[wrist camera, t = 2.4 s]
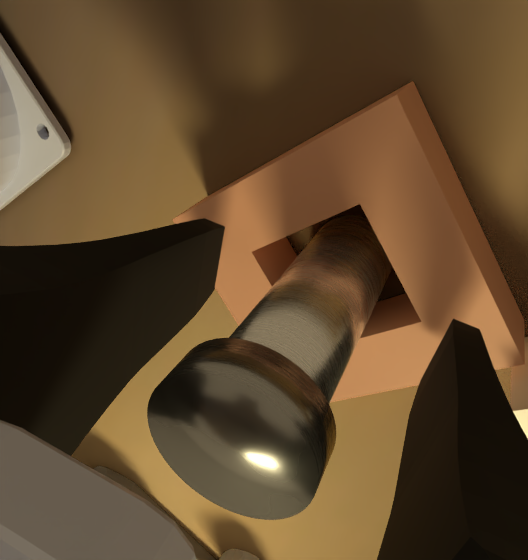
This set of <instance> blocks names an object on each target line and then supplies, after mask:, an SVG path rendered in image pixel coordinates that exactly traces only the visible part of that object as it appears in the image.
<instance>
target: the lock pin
mask: <svg viewBox="0 0 528 560" xmlns="http://www.w3.org/2000/svg"><path fill="white" fill-rule="evenodd" d="M392 268H393V266H392V264H391V262H390V261H389V259H388V257H387V255H386V253H385V251H384V249H383V247H382V245H381V243H380V241H379V239H378V238H377V236H376V234H375V232H374V230H373V228H372V226H371V224H370V222H369V220H368V219H367V218H365V217H361V216H356V215H343V216H339V217H336V218H334V219H332V220H330V221H328V222H327V223H326V224H325V225H324V226H323V227H322V228H321V229H320V230H319V231H318V233H317V234H316V235H315V236H314V237H313V238H312V240H311V241H310V242H309V243H308V244H307V246H306V247H305V248H304V249H303V250H302V252H301V253H300V254H299V255H298V256H297V257H296V259H295V260H294V261H293V262H292V263H291V265H290V266H289V267H288V268H287V269H286V271H285V272H284V273H283V274H282V275H281V277H280V278H279V279H278V280H277V281H276V282H275V284H274V285H273V286H272V287H271V288H270V290H269V291H268V292H267V293H266V294H265V296H264V297H263V298H262V299H261V300H260V301H259V303H258V304H257V305H256V306H255V307H254V309H253V310H252V311H251V312H250V313H249V315H248V316H247V317H246V318H245V319H244V321H243V322H242V323H241V324H240V325H239V326H238V328H237V329H236V330H235V331H234V332H233V334H232V335H231V336H230V337H229V338H219V339H213V340H209V341H206V342H203V343H201V344H199V345H197V346H196V347H194V348H193V349H192V350H191V351H190V352H189V353H188V354H187V355H186V356H185V357H184V358H183V359H182V360H181V361H180V362H179V363H178V364H177V365H176V367H175V368H174V369H173V370H172V371H171V372H170V373H169V374H168V375H167V376H166V377H165V378H164V380H163V381H162V382H161V383H160V384H159V385H158V386H157V387H156V388H155V390H154V391H153V393H152V395H151V397H150V400H149V403H148V412H147V417H148V424H149V428H150V432H151V435H152V437H153V440H154V442H155V444H156V446H157V448H158V450H159V452H160V453H161V455H162V456H163V458H164V459H165V461H166V462H167V463H168V465H169V466H170V467H171V468H172V469H173V471H174V472H175V473H176V474H177V475H178V476H179V477H180V478H181V479H182V480H183V481H184V482H185V483H186V484H188V485H189V486H190V487H191V488H192V489H194V490H195V491H196V492H198V493H199V494H200V495H202V496H203V497H205V498H206V499H208V500H210V501H211V502H213V503H215V504H217V505H219V506H221V507H223V508H225V509H227V510H229V511H232V512H234V513H237V514H240V515H243V516H247V517H251V518H257V519H265V520H276V519H284V518H288V517H291V516H294V515H296V514H298V513H300V512H301V511H303V510H304V509H305V508H306V507H307V506H308V505H309V504H310V503H311V501H312V499H313V497H314V496H315V493H316V491H317V488H318V486H319V483H320V481H321V478H322V476H323V474H324V471H325V469H326V466H327V464H328V461H329V459H330V457H331V454H332V452H333V449H334V446H335V441H336V425H335V420H334V416H333V413H332V411H331V408H330V406H329V403H330V401H331V399H332V397H333V395H334V392H335V390H336V388H337V386H338V384H339V382H340V380H341V377H342V375H343V373H344V371H345V369H346V367H347V365H348V362H349V360H350V358H351V356H352V354H353V352H354V350H355V347H356V345H357V343H358V341H359V339H360V337H361V335H362V332H363V330H364V328H365V326H366V324H367V322H368V320H369V317H370V315H371V313H372V311H373V309H374V307H375V304H376V302H377V300H378V298H379V296H380V294H381V292H382V289H383V287H384V285H385V283H386V281H387V279H388V277H389V274H390V272H391V270H392Z"/></svg>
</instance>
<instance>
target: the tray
mask: <svg viewBox="0 0 528 560" xmlns="http://www.w3.org/2000/svg"><path fill="white" fill-rule="evenodd" d="M510 406H511V408H512V410H513V412H514V414H515V416H516V418H517V420H518V422H519V424H520V426H521V428H522V429H523V431H524V433H525V435H526V436H527V438H528V337H525V364H524V365H519V366H514V367H511V401H510Z"/></svg>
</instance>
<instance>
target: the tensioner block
mask: <svg viewBox="0 0 528 560" xmlns="http://www.w3.org/2000/svg"><path fill="white" fill-rule="evenodd" d="M359 204H360V205H361V207H362V209H363V211H364V213H365V215H366V216H367V218H368V220H369V222H370V224H371V226H372V228H373V230H374V232H375V234H376V236H377V238H378V239H379V241H380V243H381V245H382V247H383V249H384V251H385V253H386V255H387V257H388V259H389V261H390V262H391V264H392V266H393V268H394V270H395V272H396V274H397V276H398V278H399V280H400V282H401V283H402V285H403V287H404V289H405V291H406V293H405V294H402V295H398V296H395V297H392V298H389V299H385V300H382V301H379V302H376V304H375V307H374V309H373V311H372V313H371V315H370V317H369V320H368V322H367V324H366V326H365V328H364V330H363V332H362V335H361V337H360V339H359V341H358V343H357V345H356V347H355V350H354V352H353V354H352V356H351V358H350V360H349V362H348V365H347V367H346V369H345V371H344V373H343V375H342V377H341V380H340V382H339V384H338V386H337V388H336V390H335V392H334V395H333V397H332V399H331V401H330V402H334V401H339V400H344V399H350V398H355V397H360V396H365V395H370V394H375V393H380V392H385V391H391V390H396V389H401V388H406V387H411V386H416V385H419V383H420V380H421V379H422V377H423V375H424V373H425V371H426V369H427V367H428V365H429V363H430V361H431V360H432V358H433V356H434V354H435V352H436V350H437V348H438V346H439V344H440V342H441V341H442V339H443V337H444V335H445V333H446V331H447V329H448V327H449V325H450V323H451V321H452V320H453V319H456V320H458V321H461V322H463V323H466V324H468V325H471V326H473V327H476V328H478V329H480V331H481V334H482V336H483V339H484V342H485V345H486V347H487V350H488V353H489V356H490V359H491V361H492V364H493V367H494V369H495V370H498V369H503V368H508V367H514V366H519V365H524V364H525V321H524V318H523V316H522V314H521V312H520V310H519V308H518V306H517V303H516V301H515V299H514V297H513V295H512V293H511V291H510V288H509V286H508V284H507V282H506V280H505V278H504V275H503V273H502V271H501V269H500V267H499V265H498V263H497V260H496V258H495V256H494V254H493V252H492V250H491V247H490V245H489V243H488V241H487V239H486V237H485V235H484V232H483V230H482V228H481V226H480V224H479V222H478V219H477V217H476V215H475V213H474V211H473V209H472V207H471V204H470V202H469V200H468V198H467V196H466V194H465V192H464V189H463V187H462V185H461V183H460V181H459V179H458V176H457V174H456V172H455V170H454V168H453V166H452V164H451V161H450V159H449V157H448V155H447V153H446V151H445V148H444V146H443V144H442V142H441V140H440V138H439V136H438V133H437V131H436V129H435V127H434V125H433V123H432V120H431V118H430V116H429V114H428V112H427V110H426V108H425V105H424V103H423V101H422V99H421V97H420V95H419V93H418V90H417V88H416V86H415V84H414V82H413V81H412V82H410V83H408V84H406V85H404V86H403V87H401V88H399V89H397V90H396V91H394V92H392V93H390V94H388V95H387V96H385V97H383V98H381V99H380V100H378V101H376V102H374V103H373V104H371V105H369V106H367V107H365V108H364V109H362V110H360V111H358V112H357V113H355V114H353V115H351V116H349V117H348V118H346V119H344V120H342V121H341V122H339V123H337V124H335V125H333V126H332V127H330V128H328V129H326V130H325V131H323V132H321V133H319V134H317V135H316V136H314V137H312V138H310V139H309V140H307V141H305V142H303V143H301V144H300V145H298V146H296V147H294V148H293V149H291V150H289V151H287V152H285V153H284V154H282V155H280V156H278V157H277V158H275V159H273V160H271V161H269V162H268V163H266V164H264V165H262V166H261V167H259V168H257V169H255V170H253V171H252V172H250V173H248V174H246V175H245V176H243V177H241V178H239V179H237V180H236V181H234V182H232V183H230V184H229V185H227V186H225V187H223V188H221V189H220V190H218V191H216V192H214V193H213V194H211V195H209V196H207V197H206V198H204V199H203V200H201V201H200V202H198V203H197V204H195V205H194V206H192V207H191V208H189V209H187V210H186V211H184V212H183V213H181V214H180V215H178V216H177V217H175V218H174V219H172V220H173V221H174V223H175V224H178V223H182V222H186V221H191V220H196V219H203V218H205V219H208V220H210V221H213V222H215V223H218V224H220V225H223V226H225V230H224V236H223V242H222V248H221V254H220V260H219V266H218V272H217V277H216V283H215V288H216V290H217V292H218V293H219V295H220V297H221V298H222V300H223V301H224V303H225V305H226V306H227V308H228V309H229V311H230V313H231V314H232V316H233V317H234V319H235V321H236V322H237V324H238V325H240V324H241V323H242V322H243V321H244V319H245V318H246V317H247V316H248V315H249V313H250V312H251V311H252V310H253V309H254V307H255V306H256V305H257V304H258V303H259V301H260V300H261V299H262V298H263V297H264V296H265V294H266V293H267V292H268V291H269V290H270V288H271V287H272V286H273V285H274V284H275V282H276V281H277V280H278V279H279V278H280V277H281V275H282V274H283V273H284V272H285V271H286V269H287V268H288V267H289V266H290V265H291V263H292V262H293V261H294V260H295V259H296V257H297V255H296V253H295V252H294V250H293V248H292V246H291V244H290V243H289V241H288V239H287V237H286V236H289V235H291V234H293V233H295V232H298V231H300V230H302V229H304V228H307V227H309V226H311V225H313V224H316V223H318V222H320V221H322V220H325V219H327V218H329V217H331V216H334V215H336V214H338V213H341V212H343V211H345V210H347V209H350V208H352V207H354V206H356V205H359Z"/></svg>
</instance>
